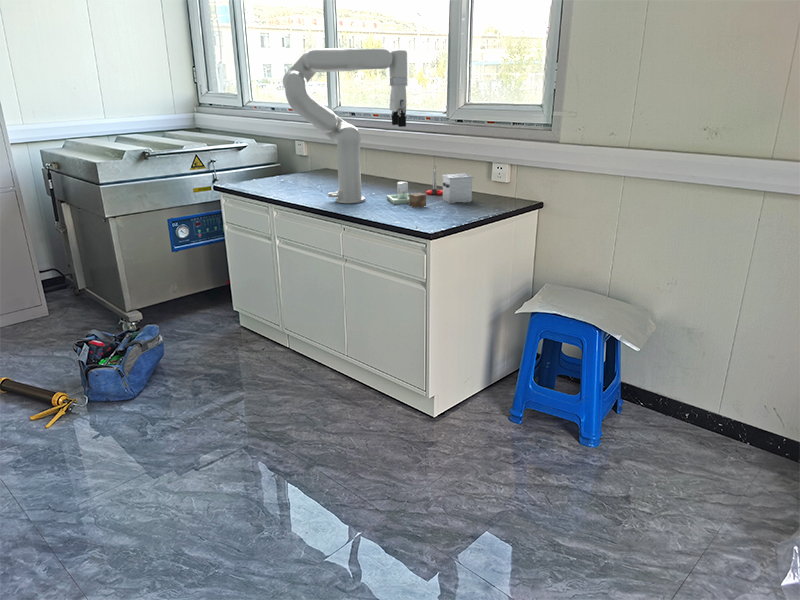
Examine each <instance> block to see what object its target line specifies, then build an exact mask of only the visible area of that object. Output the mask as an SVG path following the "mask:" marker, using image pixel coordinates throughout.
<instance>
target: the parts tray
mask: <svg viewBox="0 0 800 600" xmlns="http://www.w3.org/2000/svg"><path fill="white" fill-rule="evenodd" d="M409 194H410V193H408V199H399V200H398V199H397V194H389V195H388V194H387V195H386V200H387V201H388V202H390V203H391V204H392V203H393V204H392V205H394V204H396V205H407V204H406V203H409Z"/></svg>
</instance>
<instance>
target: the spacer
mask: <svg viewBox="0 0 800 600" xmlns="http://www.w3.org/2000/svg"><path fill="white" fill-rule="evenodd" d="M396 184H397V186H396V187H397V189H396V190H397V194H396V195H397V199H398V200H399V199H408V194H409V192H408V191H409V186H408V185H409V183H408V182H407V181H398V182H397V183H396Z"/></svg>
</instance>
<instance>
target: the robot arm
mask: <svg viewBox="0 0 800 600" xmlns="http://www.w3.org/2000/svg"><path fill="white" fill-rule="evenodd" d="M386 69H388V80H389V81H388V87H390V89H389V110H390V111H391V125H392V126H398V127H399V128H403V127H404V128H405V127H407V114H406V112H407V89H406V88H407V86H408V52H407V50H405V49H402V48H401V49H398V48H397V49H396V48H395V49H391V50H389V49H387V48H383V47H381V48H376V47H375V48H353V47H350V48H349V47H337V48H335V47H333V48H332V47H331V48H330V47H329V48H325V47H324V48H322V47H321V48H310V49H307V50H306V51H304V53H302V54H301V56H300V57H299V58H298V60H297V61H296V62H294V64H293V65H292V66H291V68H289V69H288V70H287V71H286V72H285V74H284V75H283V77H282V84H283V88H284V91H285V92H284V93H285V98H286V100H287V103H288V106H290V109H292V110H293V111H294V113H297V114H298V116H300V117H302V118H303V119H305V120H306V121H307V122H309V123H310V124H311V125H312V126H313V127H314V129H316V130H317V131H318V132H319V133H321V134H323V135H324V136H326V137H327V138H329V139H330V140H332V141H333V142H335V143H336V146H337V149H336V150H337V151H336V157H337V158H336V159H337V162H336V163H337V175H338V176H337V177H338V178H337V180H338V189H337V191H335V192H328V193H327V197H328V198H333V199H334V198H335V201H336V203H339V204H350V205H351V204H359V203H363V202H365V201H366V197H365V196H363V195H362V177H361V169H362V168H361V144H362V143H361V133H360V131H359V129H358V128H357V127H356V126H355V125H353V124H351V123H348V122H347V121H345V120H343V119H342V118H341V117H340V116H338V115H337V114H335V112H334V111H333V110H332V109H329V108H327V107H326V106H324V105H323V104H321V103H320V102H319V101H317V100H316V99H315V98H314V97H312V96H311V95H310V93H308V90H307V84H308V82H309V81H310V80H311V79H312V78H313V77H314V76H315V75H316V74H317V73H327V72H329V73H331V72H333V73H334V72H336V73H337V72H353V71H359V70H386Z"/></svg>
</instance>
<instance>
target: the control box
mask: <svg viewBox="0 0 800 600" xmlns="http://www.w3.org/2000/svg"><path fill="white" fill-rule="evenodd" d="M441 177H442V190H443V194H442V201H444V200H445V202H446V201H447V202H449V203H450V204H456V203H455V202H463V203H472V202H471V201H472V198H473V179H474V176H473V175H471V174H469V173H467V172H466V173H464V172H463V173H451V174H450V173H448V174H441ZM447 202H446V203H447ZM449 203H448V204H449Z"/></svg>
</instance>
